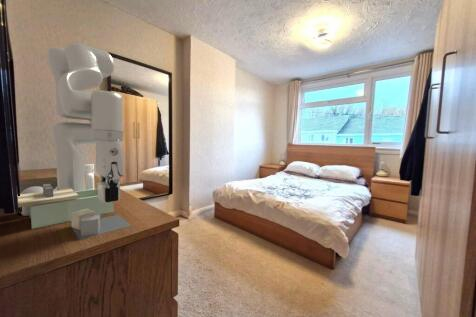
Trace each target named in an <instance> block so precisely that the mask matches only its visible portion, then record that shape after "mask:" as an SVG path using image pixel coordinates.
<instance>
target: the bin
mask: <svg viewBox="0 0 476 317" xmlns="http://www.w3.org/2000/svg"><path fill="white" fill-rule="evenodd" d="M75 192H76V193H77V194H78V196H79V198H78V199H72V200H65V201H58V202H52V203H45V204H38V205H32V206H29V212H30V215H29V218H30V219H31V230H33V229H39V228H44V227H49V226H52V225H57V224H61V223H66V222H67V223H68V222H72V220H71V213H72V212H76V211H80V210H84V209H90V210H93V211H95V214H100V216H101V215H105V214H109V213H114V212H115V208H114V205H115V204H114V202H115V201H113V202H104V203H102V202H101V201H100V200H99V199H98V188H94V189H90V190H83V191H75Z"/></svg>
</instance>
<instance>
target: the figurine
mask: <svg viewBox="0 0 476 317" xmlns="http://www.w3.org/2000/svg"><path fill="white" fill-rule="evenodd" d="M84 166H85V184H86V190H90V189H95V163H89V164H88V163H87V164H85V165H84Z"/></svg>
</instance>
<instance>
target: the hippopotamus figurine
mask: <svg viewBox="0 0 476 317" xmlns="http://www.w3.org/2000/svg"><path fill="white" fill-rule="evenodd" d="M53 190H60V189H59V188H58V186H55V187H54V188H53ZM34 192H43V186H37V185H35V186H29V187H27V188H25V189H24V190H22V191H21V192H20V193H19V194H26V193H34ZM20 214H21V215H22V216H23V217H27V216H30V212H29V206H25V207H22V212H21V213H20Z"/></svg>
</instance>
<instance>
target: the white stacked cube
mask: <svg viewBox="0 0 476 317" xmlns="http://www.w3.org/2000/svg"><path fill="white" fill-rule="evenodd" d="M109 183H110V181H109ZM118 185H119V186H118V201H120V200H121V182H118ZM105 188H106V181H103V182H100V181H97V189H98V199H99V200H100V201H101V202H102V203H104V202H105Z"/></svg>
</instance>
